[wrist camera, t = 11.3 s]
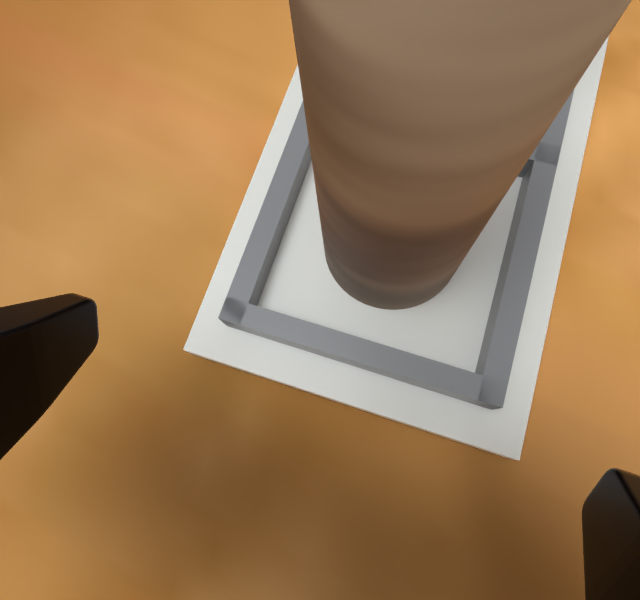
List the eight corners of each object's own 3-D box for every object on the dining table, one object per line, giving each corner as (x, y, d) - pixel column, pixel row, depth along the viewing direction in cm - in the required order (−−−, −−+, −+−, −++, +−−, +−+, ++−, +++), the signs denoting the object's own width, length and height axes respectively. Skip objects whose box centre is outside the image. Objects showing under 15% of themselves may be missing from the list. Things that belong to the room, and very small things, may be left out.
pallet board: (509, 458, 16) (533, 462, 14) (191, 354, 18) (171, 343, 16) (610, -8, 21) (638, -57, 19) (354, -56, 23) (354, -106, 21)
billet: (483, 278, 17) (981, -302, 4) (355, 330, 17) (376, -81, 3) (424, 166, 18) (623, -559, 5) (304, 212, 18) (175, -414, 5)
